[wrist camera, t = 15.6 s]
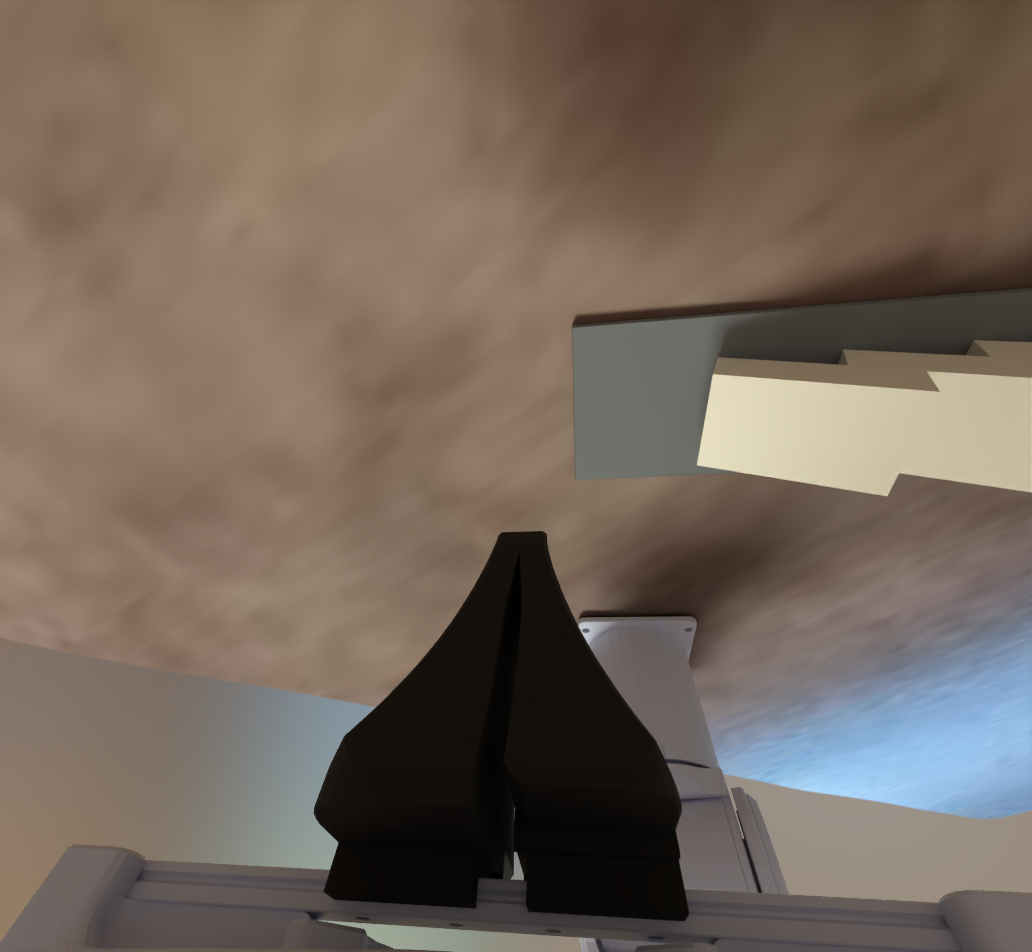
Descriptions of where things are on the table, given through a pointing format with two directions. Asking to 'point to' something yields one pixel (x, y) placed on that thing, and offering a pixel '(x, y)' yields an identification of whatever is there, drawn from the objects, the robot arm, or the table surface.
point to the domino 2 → (969, 417)
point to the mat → (745, 335)
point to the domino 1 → (815, 421)
